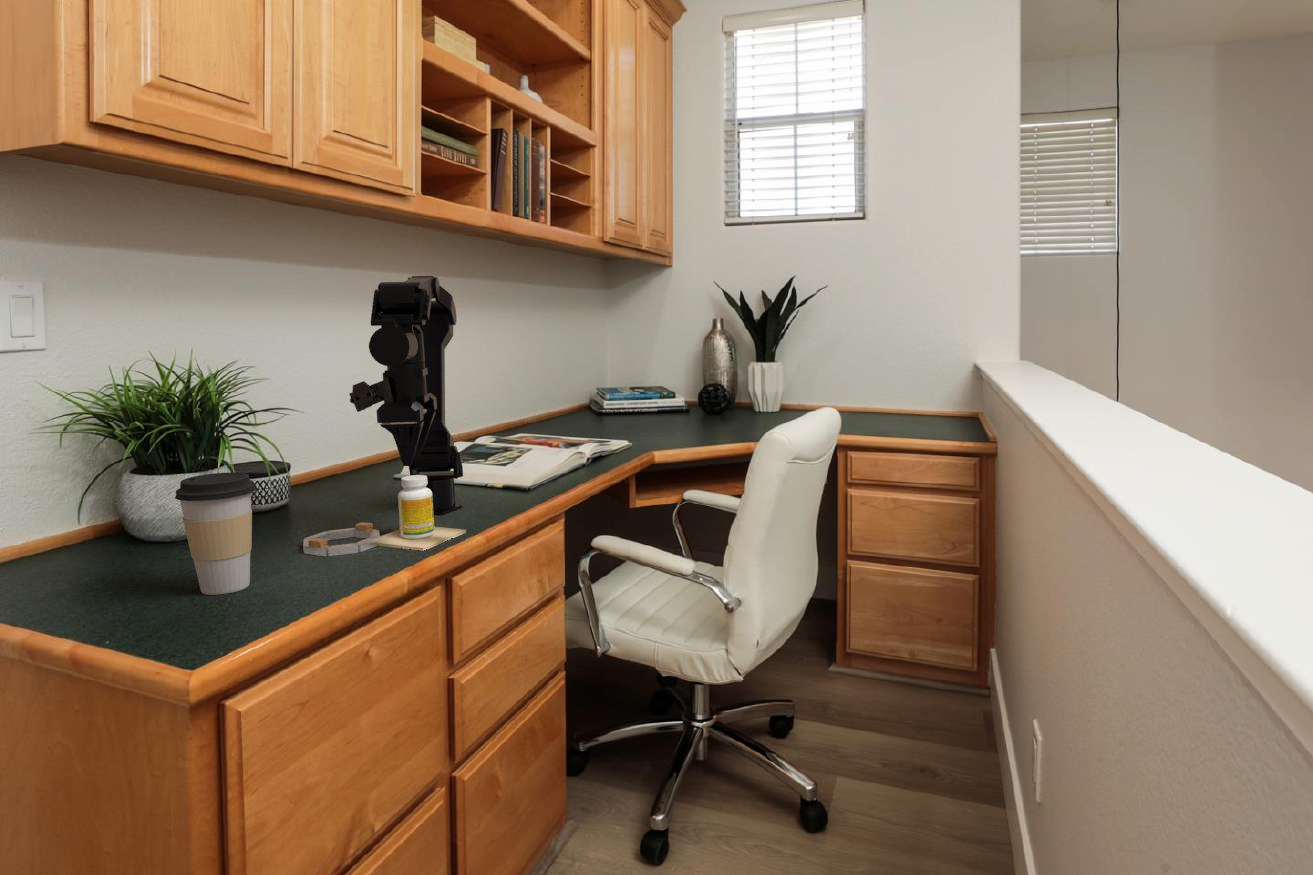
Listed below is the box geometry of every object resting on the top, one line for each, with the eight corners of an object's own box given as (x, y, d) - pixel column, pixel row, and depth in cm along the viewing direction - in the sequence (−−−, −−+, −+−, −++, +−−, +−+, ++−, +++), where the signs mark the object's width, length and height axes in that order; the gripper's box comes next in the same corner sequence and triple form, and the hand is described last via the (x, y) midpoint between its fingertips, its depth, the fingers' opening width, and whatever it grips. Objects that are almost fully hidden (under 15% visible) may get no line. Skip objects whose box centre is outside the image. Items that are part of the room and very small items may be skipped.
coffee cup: (177, 588, 106) (164, 478, 104) (252, 571, 113) (241, 468, 111) (197, 605, 100) (184, 489, 97) (275, 586, 106) (265, 477, 104)
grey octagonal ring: (341, 532, 133) (340, 520, 132) (395, 538, 128) (394, 525, 128) (287, 551, 122) (286, 537, 122) (343, 558, 118) (342, 544, 118)
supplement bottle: (395, 535, 129) (390, 477, 127) (426, 529, 132) (422, 472, 131) (409, 541, 125) (405, 482, 123) (440, 535, 128) (437, 477, 127)
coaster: (412, 527, 135) (412, 524, 135) (466, 532, 131) (466, 529, 131) (366, 544, 125) (366, 541, 125) (423, 551, 121) (422, 547, 121)
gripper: (366, 361, 132) (372, 453, 134) (336, 367, 114) (344, 474, 116) (434, 359, 134) (440, 450, 136) (416, 365, 115) (423, 470, 118)
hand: (412, 460), depth 126 cm, fingers open, 9 cm apart
